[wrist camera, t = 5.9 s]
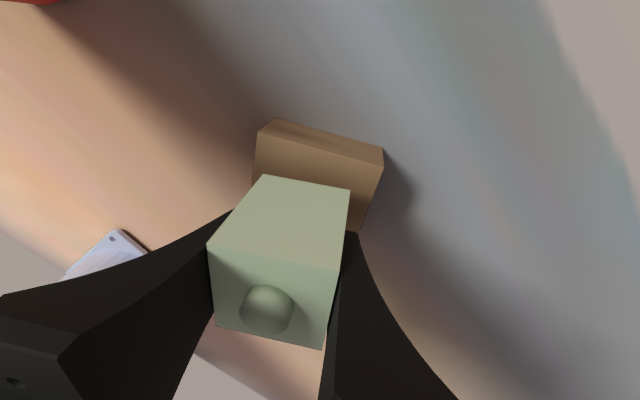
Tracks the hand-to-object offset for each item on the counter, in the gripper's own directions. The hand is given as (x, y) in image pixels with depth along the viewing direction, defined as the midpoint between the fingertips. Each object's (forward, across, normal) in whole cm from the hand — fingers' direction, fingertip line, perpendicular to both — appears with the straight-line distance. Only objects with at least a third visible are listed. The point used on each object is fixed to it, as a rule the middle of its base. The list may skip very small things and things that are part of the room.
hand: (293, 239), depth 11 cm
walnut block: (+6, 0, 0) cm, 6 cm away
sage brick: (+2, 0, 0) cm, 2 cm away
